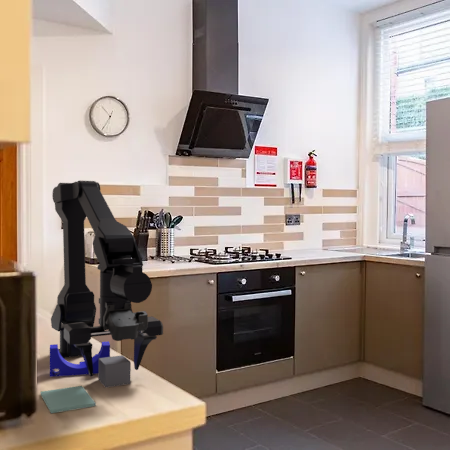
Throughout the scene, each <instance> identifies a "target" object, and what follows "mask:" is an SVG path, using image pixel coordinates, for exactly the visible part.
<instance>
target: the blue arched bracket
mask: <svg viewBox="0 0 450 450" xmlns="http://www.w3.org/2000/svg"><path fill="white" fill-rule="evenodd" d="M58 349H59V346H58V343H57V344H50V345H49V377H50V378H53V377H56V378H57V377H66V376H67V377H68V376H69V377H70V376H82V375H84V376H85V375H89V372H88V369H87V367H86V364H85V361H84V360H83V361H79V363H72V362H70V361H67V359H65V358H63V357H62V356H61V355H60V353H59V350H58ZM105 357H111V344H110V342H109V341H101V346H100V349H99V351H98V353H95V355H92V362H93V375H96V374H98V367H99V358H105ZM55 370H57V371H55Z"/></svg>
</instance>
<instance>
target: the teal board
mask: <svg viewBox="0 0 450 450" xmlns="http://www.w3.org/2000/svg"><path fill="white" fill-rule="evenodd" d="M40 396H41V398H42V400H43V401H44V403H45V405H46V407H47V409H48V411H49V412H50V414H54V413H62V412H68V411H73V410H79V409H85V408H86V409H87V408H91V407H97V406H96V402H95V400H94V399H93V398H92V397H91V395H90V394H89V393H88V391H86V389H85V388H84V386H82V385H77V386H70V387H63V388H56V389H50V390H48V389H47V390H44V391H40Z"/></svg>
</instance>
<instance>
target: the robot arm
mask: <svg viewBox="0 0 450 450" xmlns="http://www.w3.org/2000/svg"><path fill="white" fill-rule="evenodd" d="M51 195H52V201H53V203H54V210H55V212H56V213H57V215H58V216H59V218H60V219H61V222H62V235H63V236H62V237H63V238H62V239H63V241H62V242H63V243H62V244H63V274H64V275H63V276H64V279H63V280H64V282H63V283H64V284H63V287H62V288H61V290H60V292H58V295H57V299H56V302H57V303H56V306H55V308H54V309H53V310H54V311H53V313H52V315H51V317H50V324H51V325H50V326H51V328H52V329H53V330H55V331H57V332H59V348H58V350H59V353H60V355H61V356H62V357H63V358H64V359H65V358H67V359H68V358H75V357H81V356H82V358H83V361H85V364H86V367H87V369H88V372H89V374H88V375H89V376H90V377H93V376H94V374H93V362H92V357H93V352H92V350H93V344H92V342H91V341H90V340H92V338H93V337H99V336H100V337H102V336H111V338H112V340H114V341H116V342H121V341H122V340H133V341H134V342H133V366H134V367H133V369H134V370H136V371H138V370H139V368H140V365H141V363H142V360H143V357H144V354H145V352H146V349H147V347H148V345H149V344H150V343H151V342H152V341H154V340H157V338H158V336H162V335H164V324H163V322H162V321H161V320H160V319H158V318H156V317H154V316H152V315H151V316H149V315H148V313H147V311H145V310H144V311H143V310H141V311H137V312H133V309H132V303H135V304H140V303H144V301H146V300H147V299H148V298H149V297H150V295H151V292H153V291H152V289H153V283H152V281H151V279H150V277H149V276H148V274H147V273H145V272H143V266H144V263H143V255H142V253H141V251H140V249H139V247H138V244H137V240H136V239H135V236H134V235H133V233H132V232H131V231H130V230H129V228H128V227H127V226H126V225H125V224H123V223H121V222H119V221H117V219H116V218H115V216H114V214H113V212H112V211H111V208H110V207H109V205H108V203H107V201H106V199H105V197H104V195H103V193H102V192H101V185H100V183H99V182H97V181H96V180H78V181H73V182H59V183H57V186H54V188H53V190H52V194H51ZM86 219H87V220H88V222H89V225H90V226H91V229H92V231H93V233H94V238H93V240H92V246H93V252H94V255H95V258H96V259H97V261H98V263H99V264H98V265H97V267H96V268H97V270H99V271H100V272H99V298H98V304H99V318H98V324H99V325H98V326H94V324H95V320H96V313H97V306H96V303H95V294H94V292H93V291H91V290H90V288H89V287H88V285H87V281H86V280H87V279H86V276H87V275H86V246H85V244H86V243H85V241H86V239H85V220H86Z"/></svg>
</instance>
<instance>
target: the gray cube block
mask: <svg viewBox="0 0 450 450" xmlns="http://www.w3.org/2000/svg"><path fill="white" fill-rule="evenodd" d="M131 371H132V370H131V361H130V360H129V359H128V358H126V357H125V356H124V355H116V356H115V355H114V356H113V355H112V356H110V357H105V358H99V367H98V375H97V377H98V379H97V380H98V381H99V382H100V384H102V386H103V387H104V388H112V387H113V388H114V387H119V386H124V385H131Z"/></svg>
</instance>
